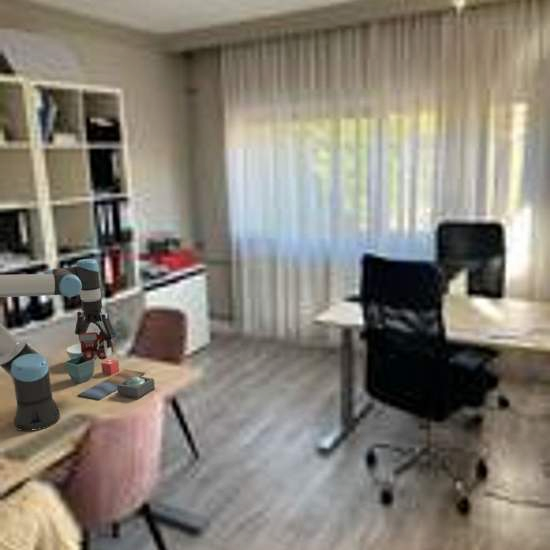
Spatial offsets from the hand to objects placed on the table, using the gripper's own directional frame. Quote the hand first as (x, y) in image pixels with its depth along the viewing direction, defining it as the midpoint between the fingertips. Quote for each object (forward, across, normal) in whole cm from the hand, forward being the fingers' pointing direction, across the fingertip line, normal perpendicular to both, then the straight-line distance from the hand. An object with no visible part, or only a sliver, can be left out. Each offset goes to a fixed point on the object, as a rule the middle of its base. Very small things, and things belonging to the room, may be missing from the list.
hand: (96, 353), depth 227 cm
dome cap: (+14, -14, -4) cm, 21 cm away
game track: (+16, 0, -7) cm, 17 cm away
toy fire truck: (+2, 0, 0) cm, 2 cm away
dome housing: (+16, -14, -4) cm, 22 cm away
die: (+16, +10, -17) cm, 25 cm away
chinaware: (+16, +29, -22) cm, 40 cm away
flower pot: (+16, +16, -6) cm, 23 cm away
